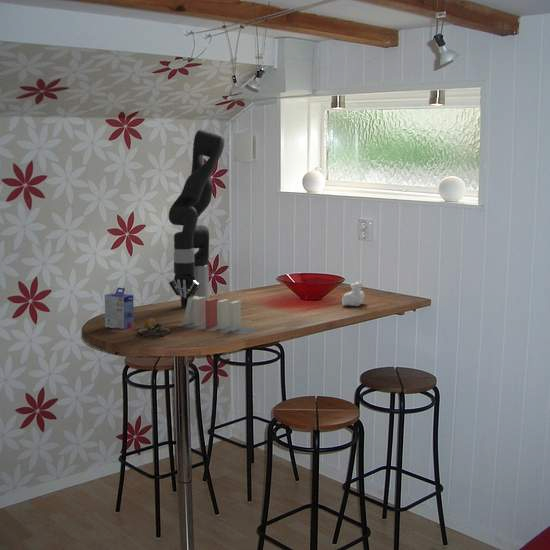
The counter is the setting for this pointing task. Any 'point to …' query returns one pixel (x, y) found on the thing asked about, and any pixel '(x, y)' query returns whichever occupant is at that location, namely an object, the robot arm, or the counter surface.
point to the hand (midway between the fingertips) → (185, 307)
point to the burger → (152, 329)
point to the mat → (242, 330)
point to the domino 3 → (223, 314)
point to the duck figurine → (354, 295)
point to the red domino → (211, 312)
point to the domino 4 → (234, 315)
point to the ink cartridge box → (119, 310)
